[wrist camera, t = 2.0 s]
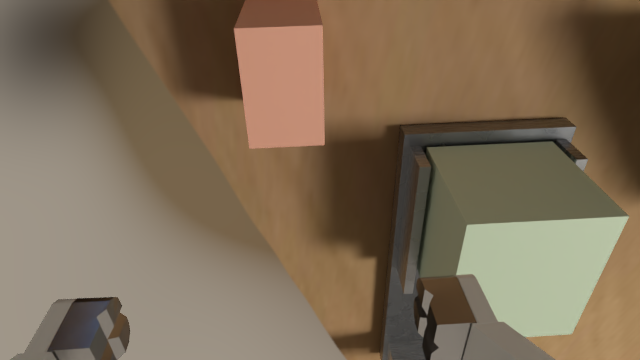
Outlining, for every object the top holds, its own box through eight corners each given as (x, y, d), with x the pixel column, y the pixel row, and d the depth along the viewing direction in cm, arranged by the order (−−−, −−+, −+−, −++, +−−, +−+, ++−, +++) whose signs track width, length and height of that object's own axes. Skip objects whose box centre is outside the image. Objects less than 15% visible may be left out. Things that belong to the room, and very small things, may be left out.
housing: (315, -4, 28) (322, 25, 22) (318, 98, 32) (324, 145, 26) (245, -1, 28) (233, 28, 22) (256, 100, 32) (249, 148, 26)
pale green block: (426, 147, 32) (467, 224, 25) (552, 141, 33) (629, 216, 25) (411, 258, 39) (440, 346, 31) (516, 252, 39) (569, 338, 32)
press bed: (400, 125, 33) (444, 220, 24) (565, 117, 34) (673, 208, 24) (379, 352, 50) (400, 463, 40) (491, 345, 50) (538, 453, 41)
